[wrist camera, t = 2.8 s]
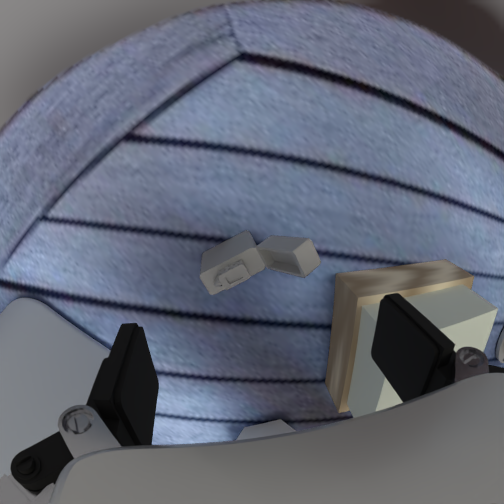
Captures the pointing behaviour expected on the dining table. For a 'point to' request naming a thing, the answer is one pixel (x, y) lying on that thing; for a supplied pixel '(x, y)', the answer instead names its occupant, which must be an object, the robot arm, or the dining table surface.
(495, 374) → the robot arm
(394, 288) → the birch base block
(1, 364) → the plastic bottle
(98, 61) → the dining table surface
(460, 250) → the dining table surface
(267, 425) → the figurine
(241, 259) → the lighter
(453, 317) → the sage top block
